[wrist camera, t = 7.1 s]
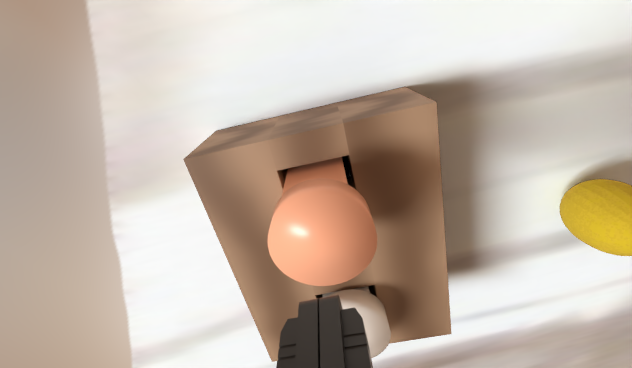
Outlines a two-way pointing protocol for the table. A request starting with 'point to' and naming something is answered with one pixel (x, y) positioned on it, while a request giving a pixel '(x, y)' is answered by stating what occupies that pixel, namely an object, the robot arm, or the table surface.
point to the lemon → (600, 215)
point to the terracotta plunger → (321, 226)
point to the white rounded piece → (367, 316)
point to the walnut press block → (366, 177)
